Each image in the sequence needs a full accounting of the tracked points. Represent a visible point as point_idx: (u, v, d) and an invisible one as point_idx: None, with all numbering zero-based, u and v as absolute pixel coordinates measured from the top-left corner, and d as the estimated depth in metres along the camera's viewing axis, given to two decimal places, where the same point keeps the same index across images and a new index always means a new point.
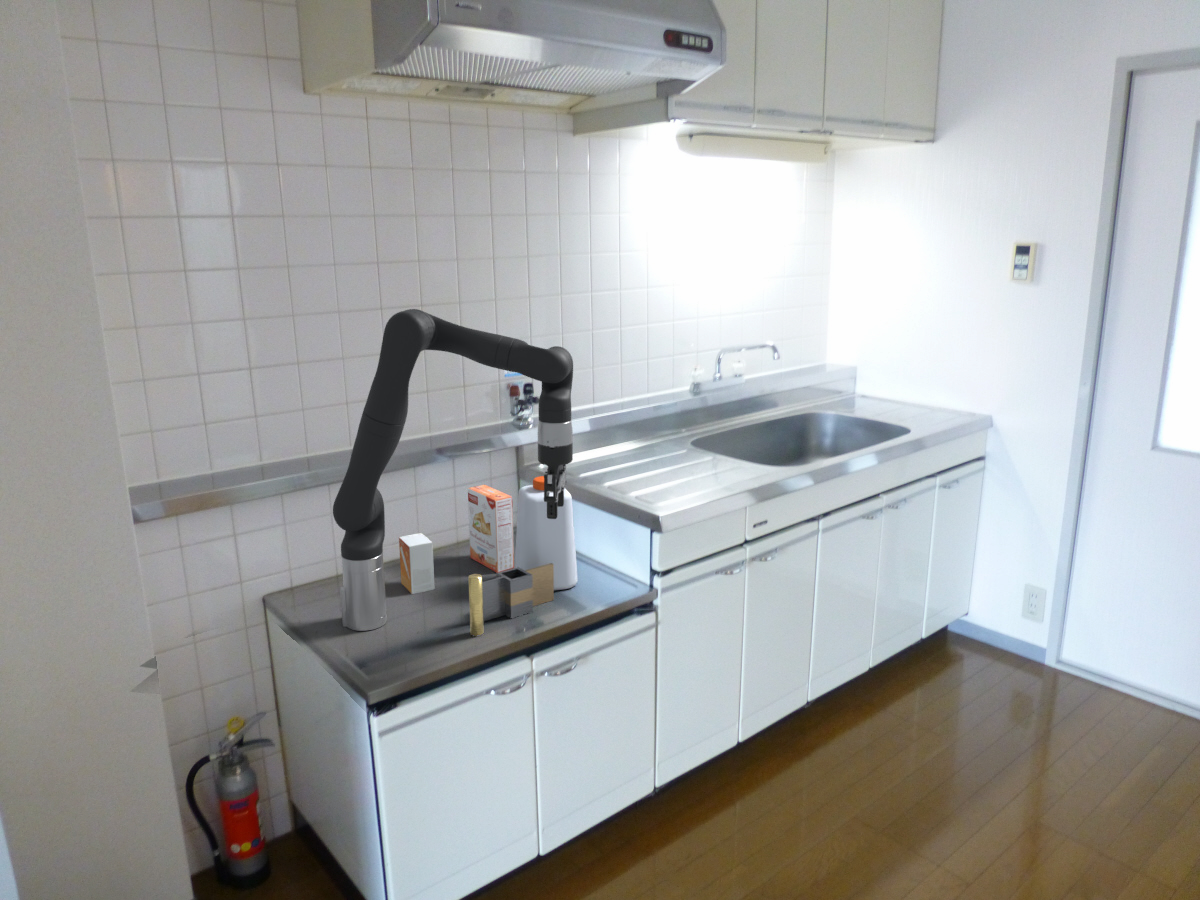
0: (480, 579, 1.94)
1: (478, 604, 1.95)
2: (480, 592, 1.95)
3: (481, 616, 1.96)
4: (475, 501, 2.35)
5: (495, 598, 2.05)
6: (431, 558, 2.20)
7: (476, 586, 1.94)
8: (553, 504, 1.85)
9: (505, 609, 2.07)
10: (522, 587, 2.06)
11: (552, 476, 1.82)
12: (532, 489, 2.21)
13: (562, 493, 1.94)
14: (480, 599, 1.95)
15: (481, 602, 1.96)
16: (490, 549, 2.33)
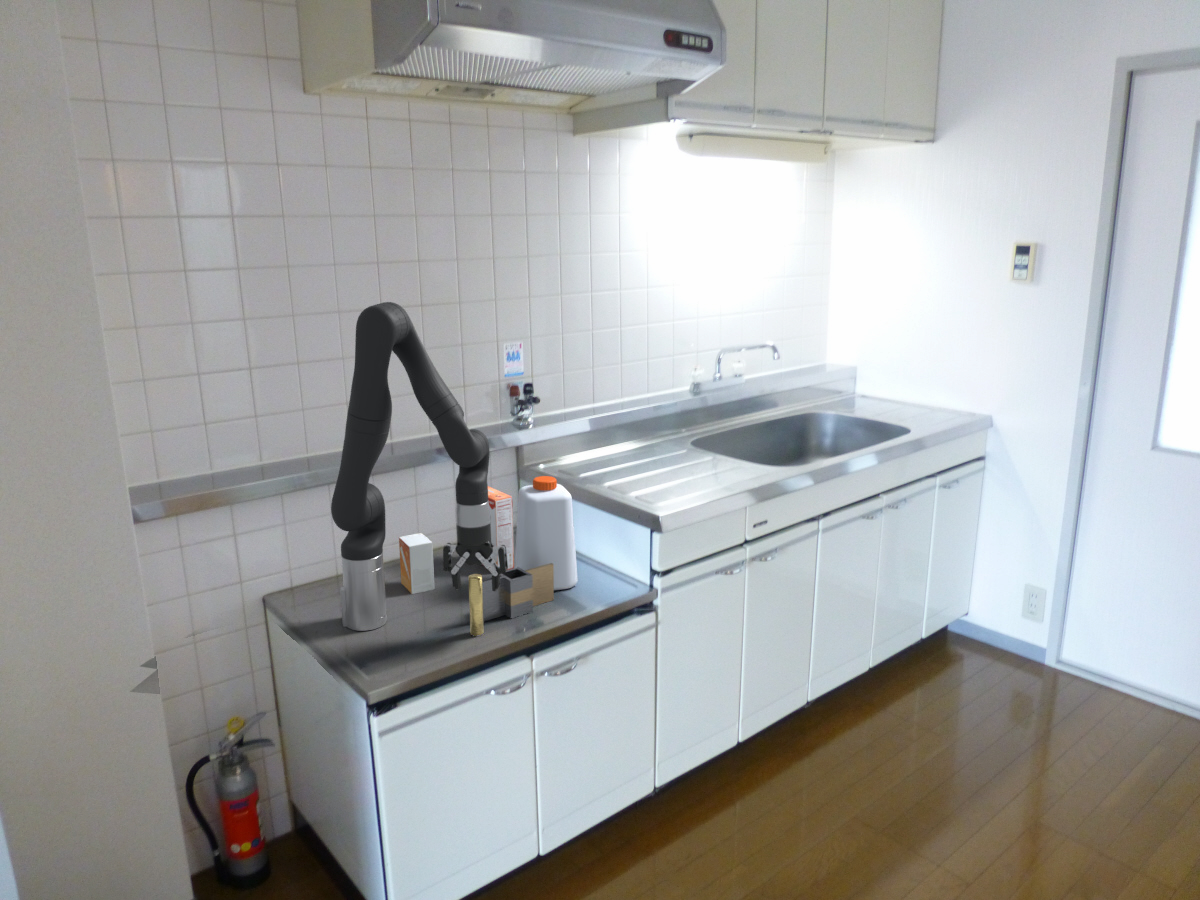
0: (480, 579, 1.94)
1: (478, 604, 1.95)
2: (480, 592, 1.95)
3: (481, 616, 1.96)
4: None
5: (495, 598, 2.05)
6: (431, 558, 2.20)
7: (476, 586, 1.94)
8: (499, 574, 1.94)
9: (505, 609, 2.07)
10: (522, 587, 2.06)
11: (504, 546, 1.93)
12: (532, 489, 2.21)
13: (459, 574, 1.96)
14: (480, 599, 1.95)
15: (481, 602, 1.96)
16: None
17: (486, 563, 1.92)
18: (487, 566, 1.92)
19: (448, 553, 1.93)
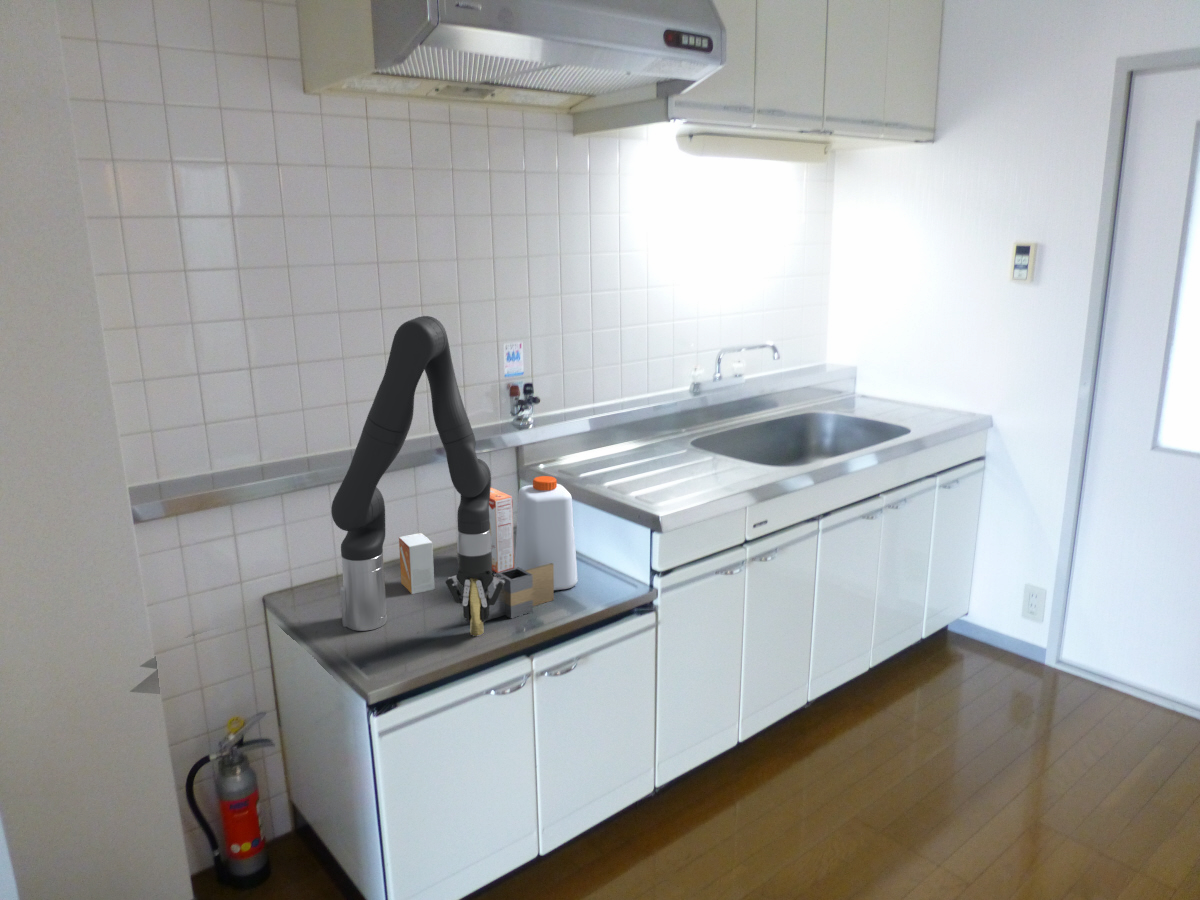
0: None
1: (478, 604, 1.95)
2: None
3: None
4: None
5: None
6: (431, 558, 2.20)
7: (476, 586, 1.94)
8: None
9: (505, 609, 2.07)
10: (522, 587, 2.06)
11: (504, 582, 1.95)
12: (532, 489, 2.21)
13: None
14: (480, 599, 1.95)
15: None
16: None
17: (482, 593, 1.94)
18: (481, 595, 1.94)
19: (452, 585, 1.95)
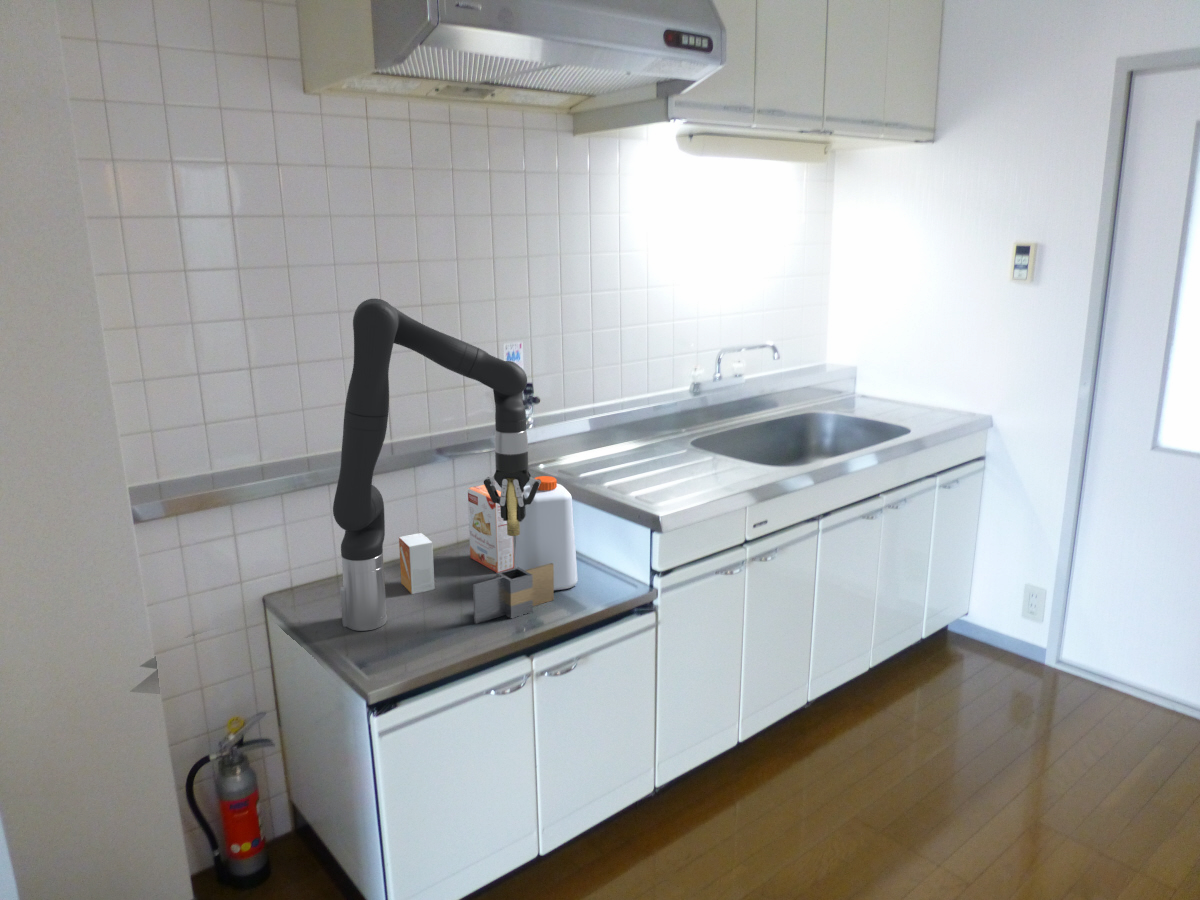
0: None
1: (515, 504, 2.02)
2: None
3: None
4: (475, 501, 2.35)
5: (495, 598, 2.05)
6: (431, 558, 2.20)
7: (513, 486, 2.00)
8: None
9: (505, 609, 2.07)
10: (522, 587, 2.06)
11: (540, 482, 2.01)
12: None
13: None
14: (517, 499, 2.02)
15: None
16: (490, 549, 2.33)
17: (518, 492, 2.00)
18: (518, 494, 2.00)
19: (490, 485, 2.01)
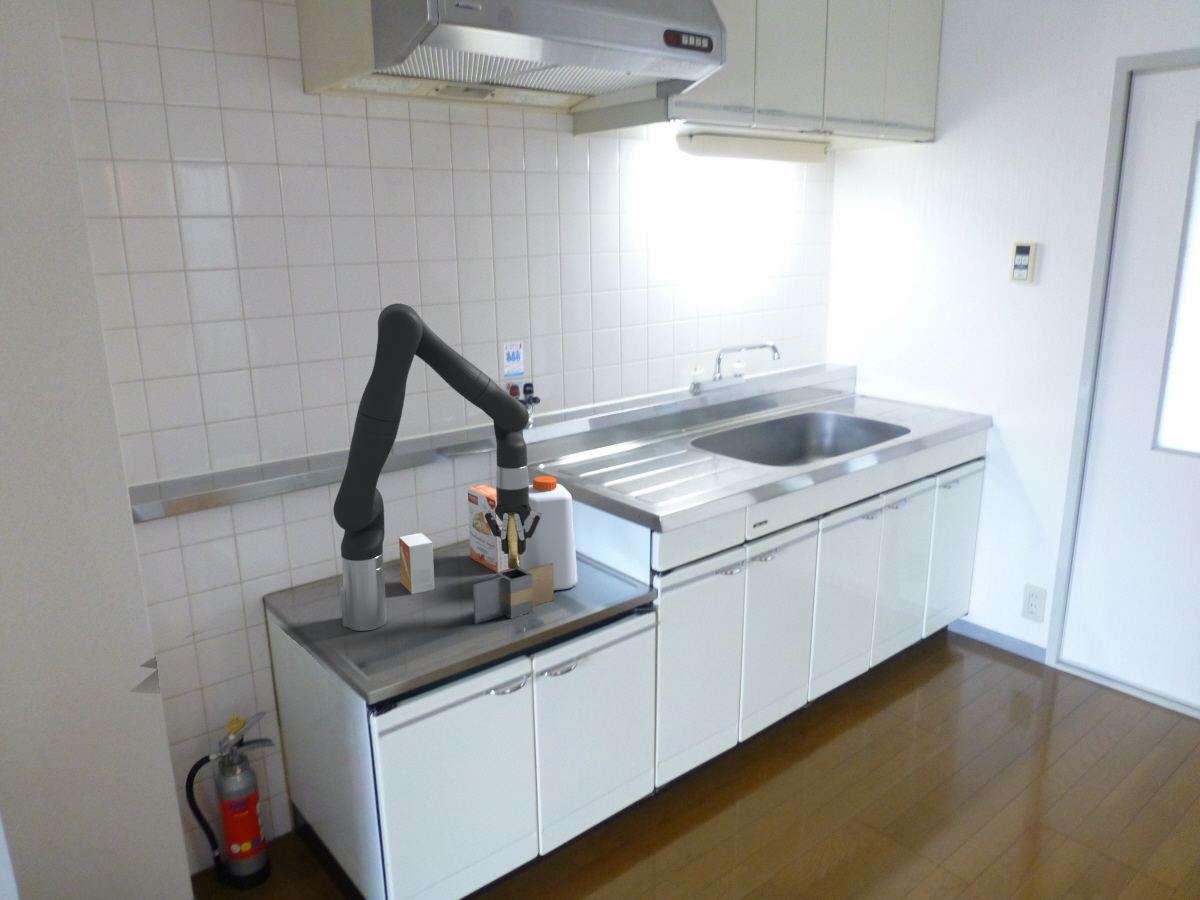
0: None
1: (516, 538, 2.04)
2: None
3: (518, 549, 2.05)
4: (475, 501, 2.35)
5: (495, 598, 2.05)
6: (431, 558, 2.20)
7: (514, 520, 2.03)
8: (525, 539, 2.06)
9: (505, 609, 2.07)
10: (522, 587, 2.06)
11: (540, 515, 2.04)
12: (532, 489, 2.21)
13: None
14: (517, 532, 2.04)
15: (518, 535, 2.05)
16: (490, 549, 2.33)
17: (519, 526, 2.03)
18: (519, 528, 2.03)
19: (491, 519, 2.04)
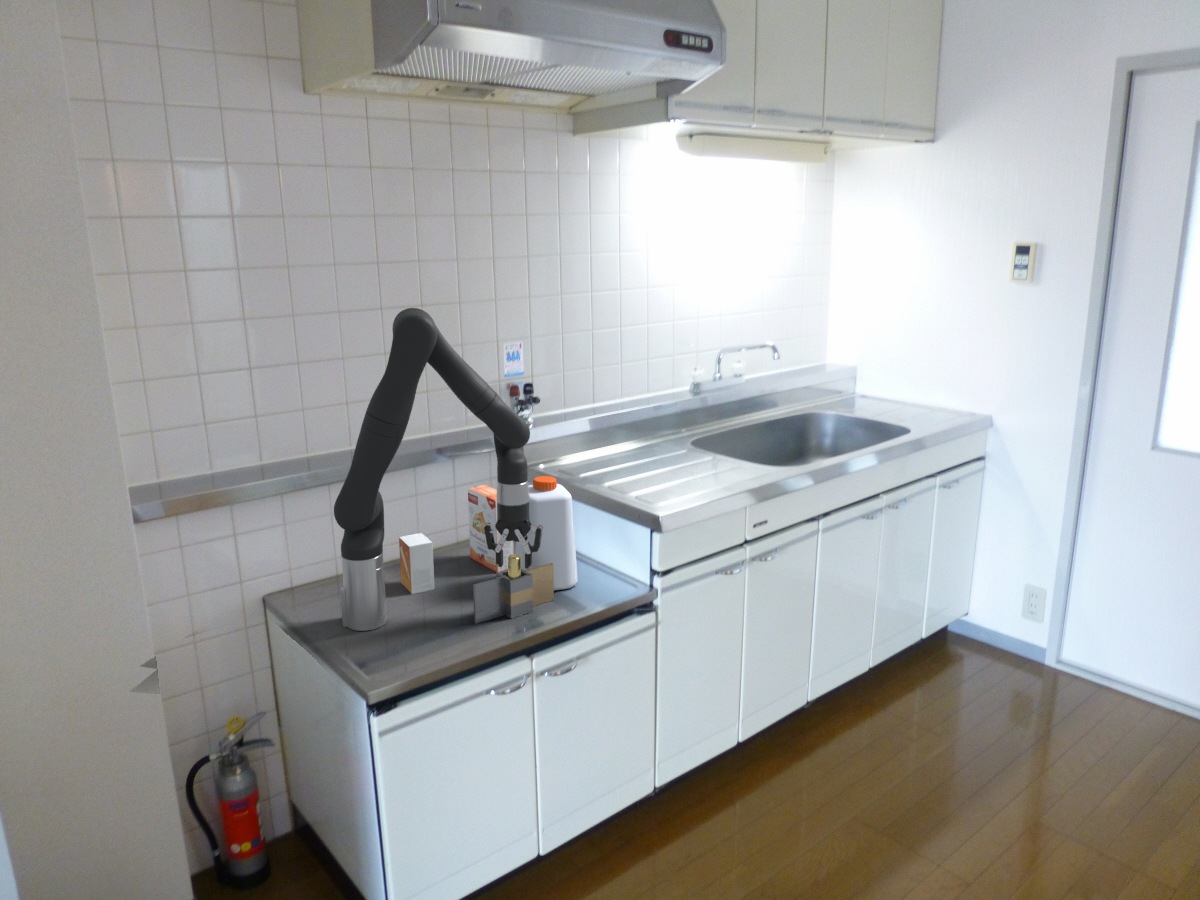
0: (519, 559, 2.06)
1: None
2: (519, 571, 2.07)
3: None
4: (475, 501, 2.35)
5: (495, 598, 2.05)
6: (431, 558, 2.20)
7: (515, 566, 2.06)
8: None
9: (505, 609, 2.07)
10: (522, 587, 2.06)
11: (542, 527, 2.05)
12: (532, 489, 2.21)
13: (502, 552, 2.08)
14: None
15: None
16: None
17: (522, 541, 2.04)
18: (522, 543, 2.04)
19: (489, 532, 2.05)
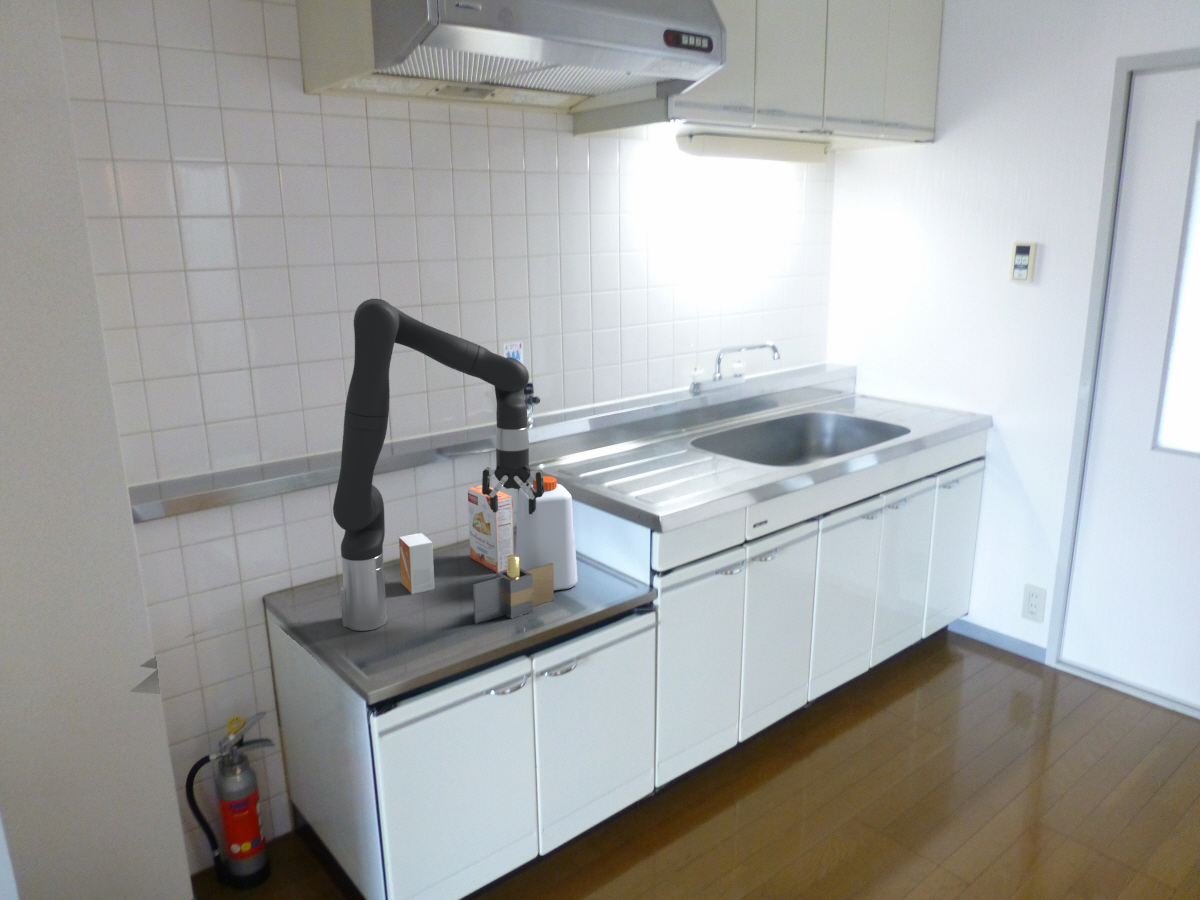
0: (518, 559, 2.06)
1: None
2: (517, 571, 2.07)
3: None
4: (475, 501, 2.35)
5: (495, 598, 2.05)
6: (431, 558, 2.20)
7: (514, 566, 2.06)
8: (535, 498, 2.03)
9: (505, 609, 2.07)
10: (522, 587, 2.06)
11: (541, 471, 2.01)
12: None
13: (497, 497, 2.05)
14: None
15: None
16: (490, 549, 2.33)
17: (524, 486, 2.00)
18: (524, 489, 2.00)
19: (487, 477, 2.01)
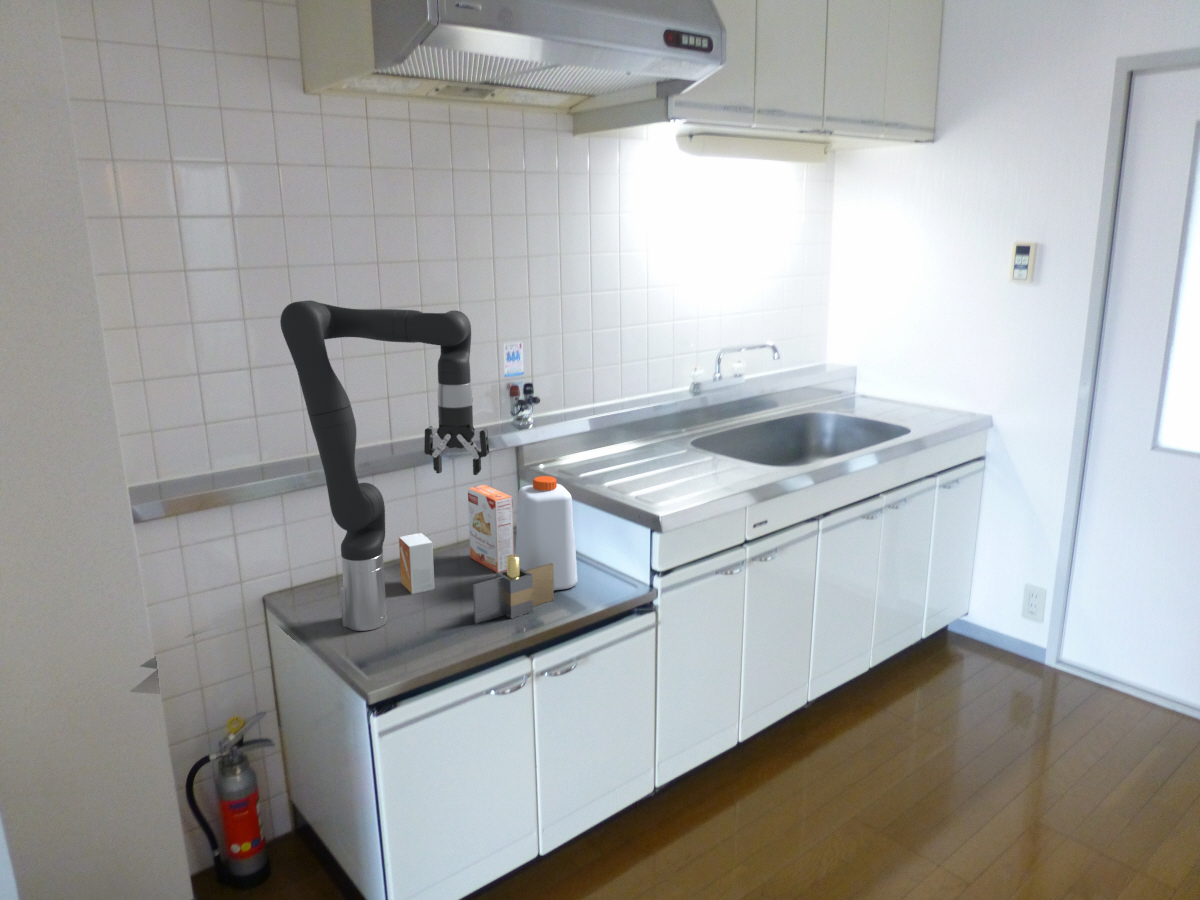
0: (518, 559, 2.06)
1: None
2: (517, 571, 2.07)
3: None
4: (475, 501, 2.35)
5: (495, 598, 2.05)
6: (431, 558, 2.20)
7: (514, 566, 2.06)
8: (480, 458, 1.95)
9: (505, 609, 2.07)
10: (522, 587, 2.06)
11: (486, 430, 1.93)
12: (532, 489, 2.21)
13: (441, 458, 1.96)
14: None
15: None
16: (490, 549, 2.33)
17: (467, 445, 1.92)
18: (468, 448, 1.92)
19: (429, 435, 1.93)
